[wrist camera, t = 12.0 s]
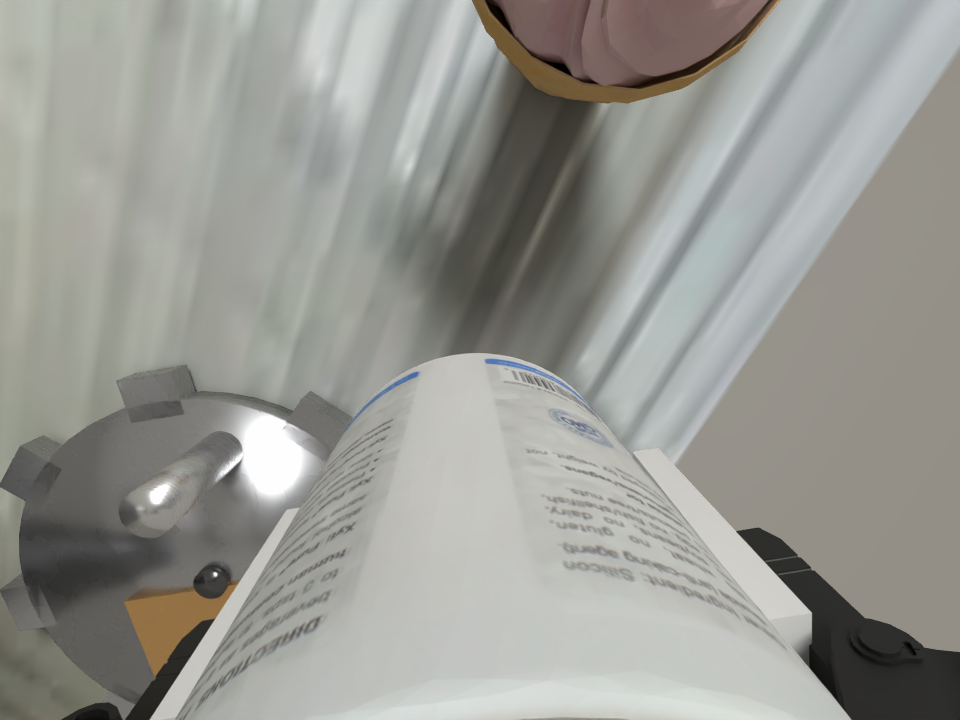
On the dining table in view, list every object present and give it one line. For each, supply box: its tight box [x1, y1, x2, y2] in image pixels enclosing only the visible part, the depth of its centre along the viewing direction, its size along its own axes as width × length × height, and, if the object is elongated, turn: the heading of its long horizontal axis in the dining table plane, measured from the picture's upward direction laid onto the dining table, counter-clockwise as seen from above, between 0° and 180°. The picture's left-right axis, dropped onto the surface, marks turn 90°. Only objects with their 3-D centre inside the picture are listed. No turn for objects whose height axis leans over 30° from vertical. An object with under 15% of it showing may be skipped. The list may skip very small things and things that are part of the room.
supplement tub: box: [175, 353, 851, 720], centre depth 10 cm, size 10×10×15 cm
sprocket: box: [0, 365, 353, 720], centre depth 28 cm, size 27×27×9 cm
